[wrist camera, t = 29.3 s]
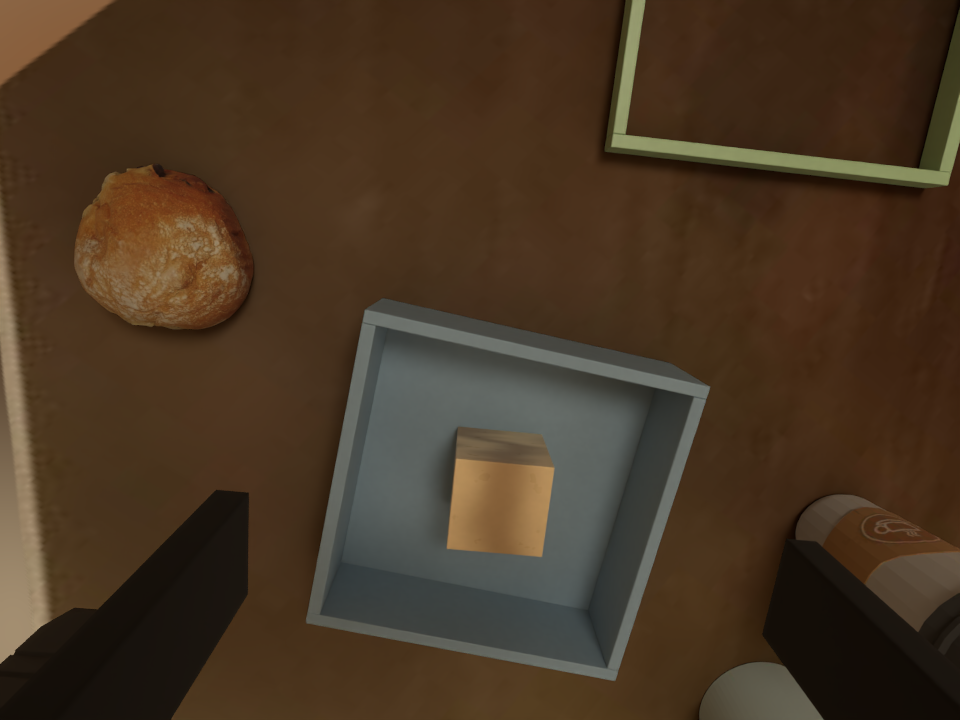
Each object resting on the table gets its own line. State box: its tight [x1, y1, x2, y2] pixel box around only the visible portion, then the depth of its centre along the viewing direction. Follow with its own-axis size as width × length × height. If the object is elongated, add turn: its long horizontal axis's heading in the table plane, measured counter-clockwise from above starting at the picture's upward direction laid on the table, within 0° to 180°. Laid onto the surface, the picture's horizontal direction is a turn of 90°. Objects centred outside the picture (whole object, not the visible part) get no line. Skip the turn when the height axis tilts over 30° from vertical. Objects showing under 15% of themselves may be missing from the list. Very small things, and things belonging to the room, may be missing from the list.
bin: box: [306, 298, 710, 681], centre depth 37 cm, size 21×21×6 cm
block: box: [447, 427, 555, 557], centre depth 37 cm, size 6×6×6 cm
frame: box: [604, 0, 960, 188], centre depth 34 cm, size 22×14×2 cm, turn 84°
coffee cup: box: [795, 494, 960, 669], centre depth 34 cm, size 8×8×15 cm
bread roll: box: [74, 164, 254, 329], centre depth 35 cm, size 10×10×8 cm
